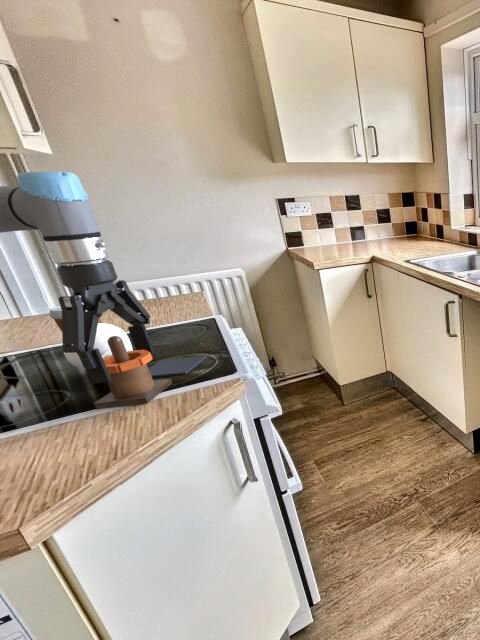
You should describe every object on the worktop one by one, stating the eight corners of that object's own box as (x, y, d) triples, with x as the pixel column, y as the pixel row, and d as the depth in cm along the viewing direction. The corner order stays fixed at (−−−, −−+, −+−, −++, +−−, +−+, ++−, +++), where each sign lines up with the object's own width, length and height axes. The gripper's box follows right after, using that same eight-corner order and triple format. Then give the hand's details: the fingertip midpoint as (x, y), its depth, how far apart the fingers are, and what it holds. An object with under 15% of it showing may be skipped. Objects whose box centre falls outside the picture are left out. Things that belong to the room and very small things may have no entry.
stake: (96, 408, 82) (68, 346, 77) (126, 387, 90) (103, 330, 86) (147, 403, 84) (123, 342, 79) (172, 383, 92) (152, 326, 87)
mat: (136, 379, 95) (136, 377, 94) (162, 361, 104) (161, 359, 104) (186, 374, 96) (185, 372, 96) (207, 357, 105) (206, 355, 105)
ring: (83, 375, 80) (80, 369, 79) (114, 358, 88) (112, 352, 87) (134, 371, 81) (132, 364, 81) (160, 354, 89) (158, 348, 89)
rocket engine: (127, 340, 88) (90, 314, 95) (83, 387, 84) (48, 356, 92) (178, 363, 98) (140, 337, 105) (141, 406, 94) (105, 377, 101)
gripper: (51, 274, 66) (103, 393, 74) (148, 250, 89) (180, 343, 97) (-5, 278, 65) (54, 399, 73) (107, 253, 88) (143, 347, 96)
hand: (126, 367), depth 85 cm, fingers open, 13 cm apart
